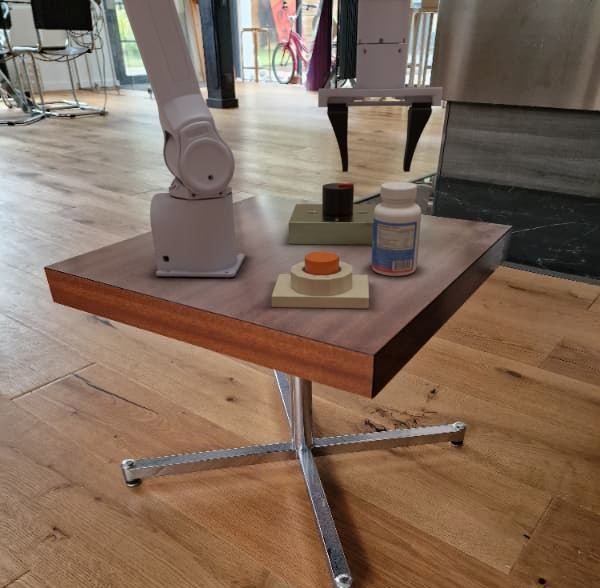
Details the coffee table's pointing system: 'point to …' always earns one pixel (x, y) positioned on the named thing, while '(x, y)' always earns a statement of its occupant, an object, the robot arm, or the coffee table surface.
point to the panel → (331, 225)
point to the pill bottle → (396, 230)
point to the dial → (337, 199)
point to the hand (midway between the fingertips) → (375, 170)
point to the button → (321, 263)
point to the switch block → (321, 289)
